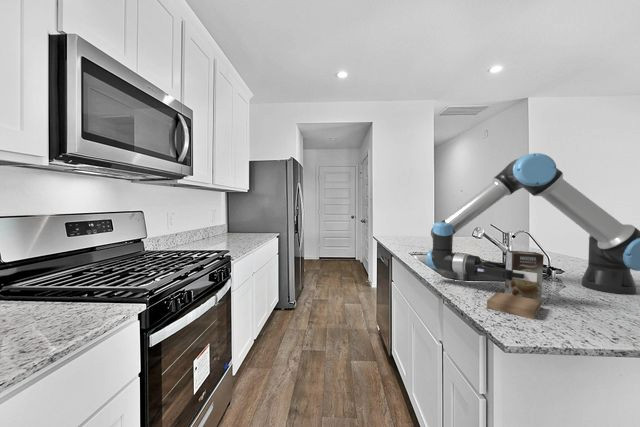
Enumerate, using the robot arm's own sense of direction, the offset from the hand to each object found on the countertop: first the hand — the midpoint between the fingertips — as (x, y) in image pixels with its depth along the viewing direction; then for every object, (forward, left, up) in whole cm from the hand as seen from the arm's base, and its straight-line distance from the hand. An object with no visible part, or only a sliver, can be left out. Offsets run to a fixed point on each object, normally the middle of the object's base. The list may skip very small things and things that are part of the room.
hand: (539, 275), depth 97 cm
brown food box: (+4, 0, -9) cm, 10 cm away
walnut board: (+4, +13, -9) cm, 16 cm away
